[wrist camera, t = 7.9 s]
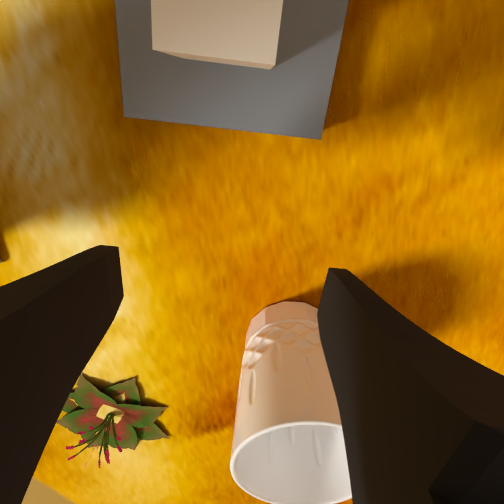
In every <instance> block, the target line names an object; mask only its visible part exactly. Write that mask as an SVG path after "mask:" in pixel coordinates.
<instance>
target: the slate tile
mask: <svg viewBox="0 0 504 504" xmlns="http://www.w3.org/2000/svg"><path fill="white" fill-rule="evenodd" d="M348 3H349V0H283V6H282V14H281V22H280V30H279V38H278V46H277V54H276V62H275V66H274V67H272V68H271V69H262V68H254V67H246V66H238V65H230V64H222V63H214V62H206V61H198V60H190V59H183V58H180V57H177V56H173V55H170V54H166V53H163V52H159V51H156V50H152V20H151V0H115V11H116V24H117V36H118V49H119V62H120V75H121V87H122V100H123V113H124V117H130V118H138V119H147V120H155V121H164V122H173V123H181V124H190V125H199V126H207V127H216V128H224V129H233V130H242V131H250V132H259V133H268V134H276V135H285V136H294V137H302V138H311V139H319V140H321V137H322V132H323V127H324V123H325V118H326V113H327V108H328V103H329V98H330V93H331V88H332V83H333V78H334V73H335V68H336V63H337V58H338V53H339V48H340V43H341V38H342V33H343V28H344V23H345V18H346V13H347V8H348Z"/></svg>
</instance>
